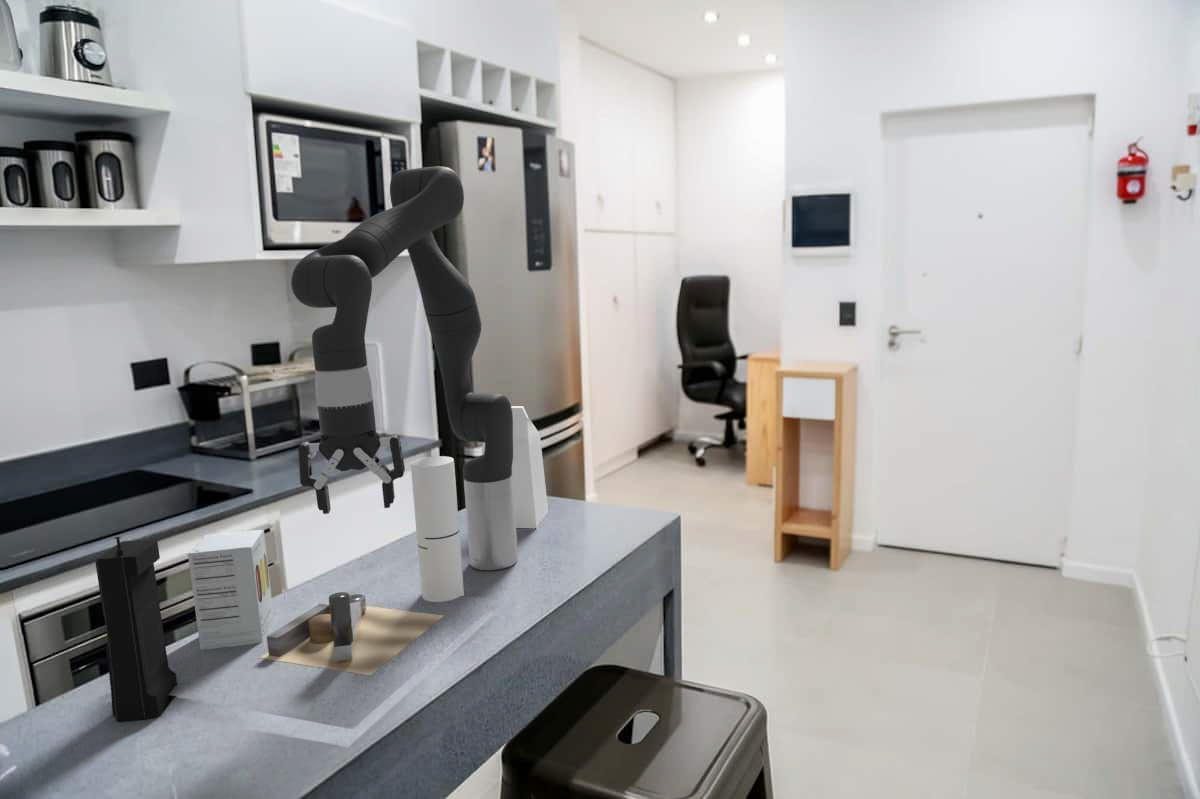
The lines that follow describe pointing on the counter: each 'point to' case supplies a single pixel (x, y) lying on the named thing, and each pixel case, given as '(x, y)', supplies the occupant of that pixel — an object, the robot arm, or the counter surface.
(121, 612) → the portable radio
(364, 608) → the lever
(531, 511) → the milk
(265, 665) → the counter surface
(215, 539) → the supplement box
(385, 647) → the nutcracker board
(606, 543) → the counter surface
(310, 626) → the nut
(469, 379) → the robot arm
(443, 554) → the cylindrical container
